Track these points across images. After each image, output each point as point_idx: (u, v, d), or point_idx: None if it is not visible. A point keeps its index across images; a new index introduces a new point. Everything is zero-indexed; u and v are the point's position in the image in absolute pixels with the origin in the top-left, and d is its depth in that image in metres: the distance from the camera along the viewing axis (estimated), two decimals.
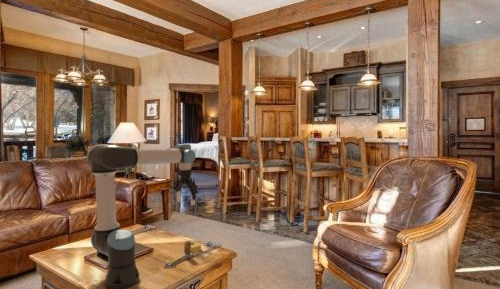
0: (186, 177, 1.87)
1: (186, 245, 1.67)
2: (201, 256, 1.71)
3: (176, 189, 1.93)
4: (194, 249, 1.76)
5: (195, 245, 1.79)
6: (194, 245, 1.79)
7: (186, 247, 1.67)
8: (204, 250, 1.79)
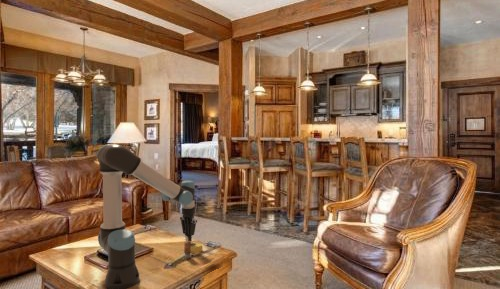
0: (190, 216, 1.79)
1: (186, 245, 1.67)
2: (201, 256, 1.71)
3: (185, 233, 1.82)
4: (195, 249, 1.75)
5: (196, 245, 1.78)
6: (195, 245, 1.78)
7: (186, 247, 1.67)
8: (204, 250, 1.79)
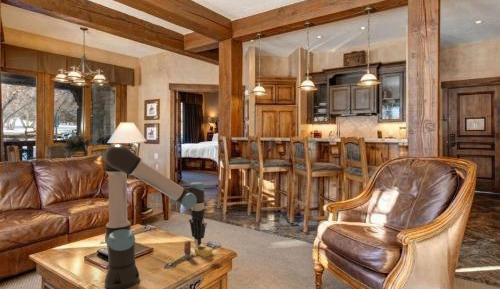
0: (200, 218, 1.73)
1: (186, 245, 1.67)
2: (201, 256, 1.71)
3: (194, 236, 1.77)
4: (205, 253, 1.70)
5: (206, 249, 1.73)
6: (205, 249, 1.73)
7: (186, 247, 1.67)
8: None
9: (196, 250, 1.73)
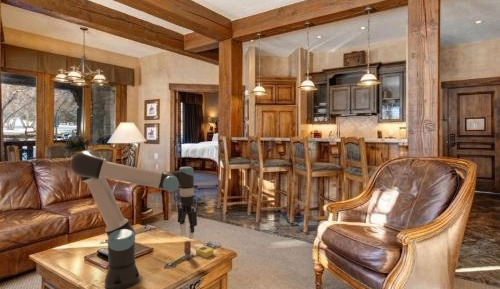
0: (188, 204, 1.65)
1: (186, 245, 1.67)
2: (201, 256, 1.71)
3: (180, 221, 1.70)
4: (206, 254, 1.70)
5: (207, 250, 1.72)
6: (206, 250, 1.72)
7: (186, 247, 1.67)
8: None
9: (197, 250, 1.73)
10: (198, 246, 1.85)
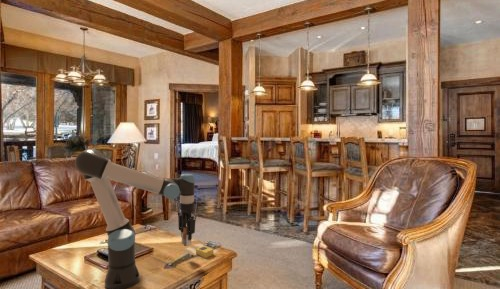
0: (188, 212, 1.65)
1: (185, 230, 1.67)
2: (201, 256, 1.71)
3: (181, 229, 1.69)
4: (206, 254, 1.70)
5: (207, 250, 1.72)
6: (206, 250, 1.72)
7: (185, 232, 1.67)
8: None
9: (197, 250, 1.73)
10: (198, 246, 1.85)
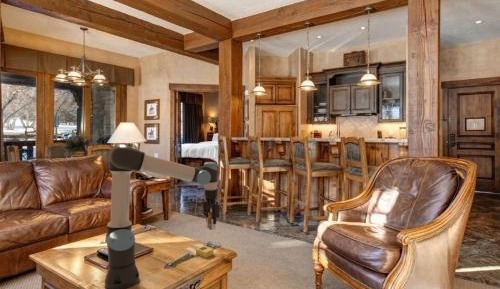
0: (213, 197, 1.76)
1: (210, 215, 1.78)
2: (201, 256, 1.71)
3: (206, 214, 1.80)
4: (206, 254, 1.70)
5: (207, 250, 1.72)
6: (206, 250, 1.72)
7: (210, 217, 1.78)
8: None
9: (197, 250, 1.73)
10: (198, 246, 1.85)
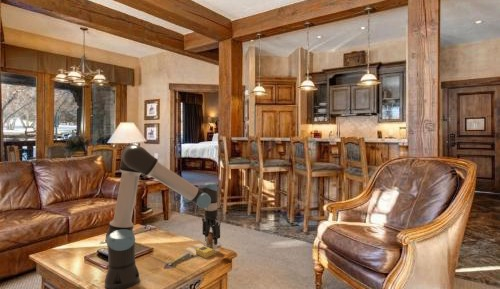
0: (213, 218, 1.77)
1: (210, 236, 1.78)
2: (201, 256, 1.71)
3: (205, 234, 1.81)
4: (206, 254, 1.70)
5: (207, 250, 1.72)
6: (206, 250, 1.72)
7: (210, 238, 1.78)
8: None
9: (197, 250, 1.73)
10: (198, 246, 1.85)
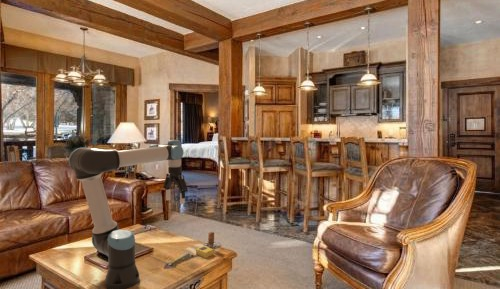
0: (175, 175, 1.79)
1: (210, 236, 1.78)
2: (201, 256, 1.71)
3: (165, 187, 1.86)
4: (206, 254, 1.70)
5: (207, 250, 1.72)
6: (206, 250, 1.72)
7: (210, 237, 1.78)
8: None
9: (197, 250, 1.73)
10: (198, 246, 1.85)
